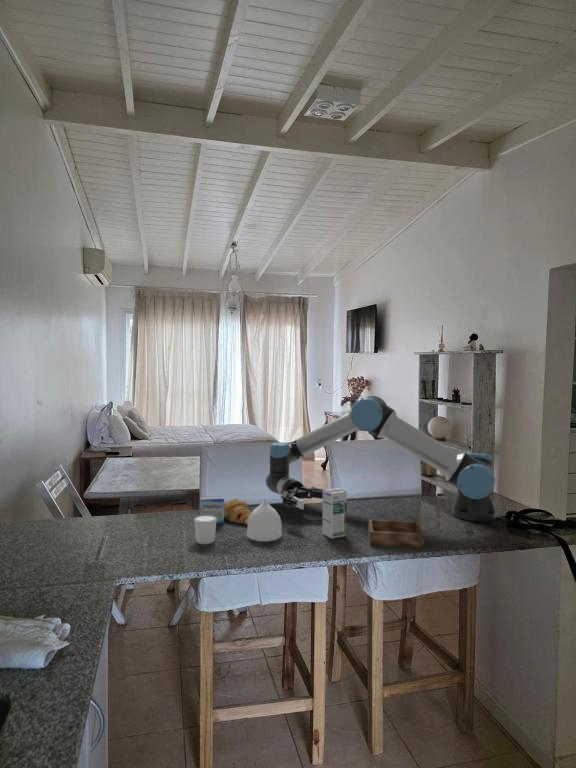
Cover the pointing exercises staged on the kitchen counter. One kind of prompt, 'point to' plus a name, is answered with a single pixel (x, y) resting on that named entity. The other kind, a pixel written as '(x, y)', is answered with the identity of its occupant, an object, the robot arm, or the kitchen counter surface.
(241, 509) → the croissant
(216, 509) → the medicine box
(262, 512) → the teardrop
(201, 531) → the shot glass
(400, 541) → the serving tray
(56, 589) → the kitchen counter surface
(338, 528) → the syrup box
